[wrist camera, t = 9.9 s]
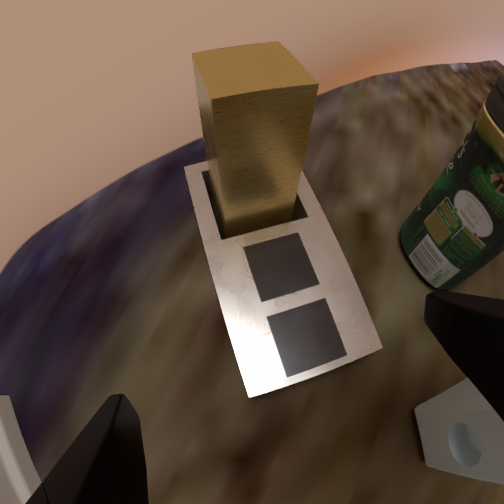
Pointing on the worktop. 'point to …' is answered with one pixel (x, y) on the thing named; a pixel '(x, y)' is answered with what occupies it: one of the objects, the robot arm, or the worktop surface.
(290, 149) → the gold rectangular block
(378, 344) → the rail
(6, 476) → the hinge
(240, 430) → the worktop surface
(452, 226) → the coffee jar
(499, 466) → the pale grey rounded block
